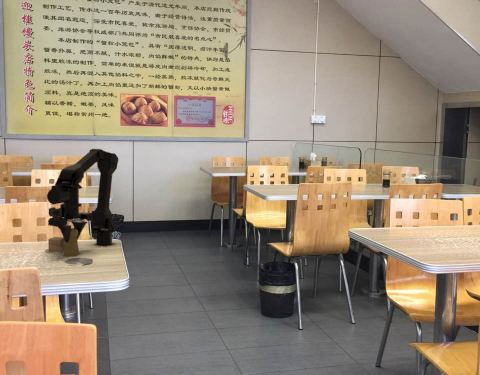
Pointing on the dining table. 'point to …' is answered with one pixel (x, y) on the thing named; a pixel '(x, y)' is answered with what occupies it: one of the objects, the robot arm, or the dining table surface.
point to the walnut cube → (56, 244)
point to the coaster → (52, 252)
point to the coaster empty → (79, 261)
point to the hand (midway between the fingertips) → (71, 241)
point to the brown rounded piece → (72, 244)
